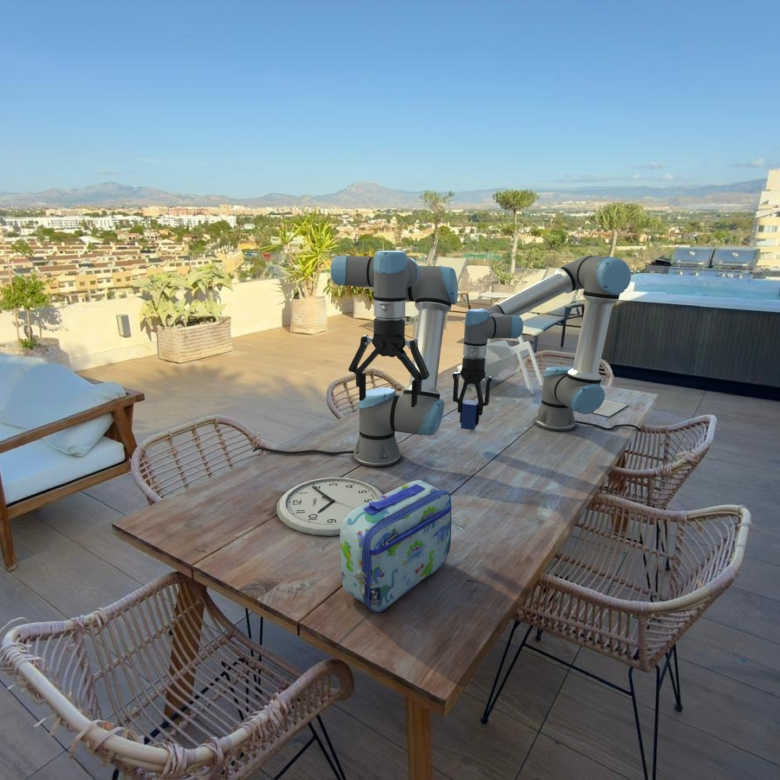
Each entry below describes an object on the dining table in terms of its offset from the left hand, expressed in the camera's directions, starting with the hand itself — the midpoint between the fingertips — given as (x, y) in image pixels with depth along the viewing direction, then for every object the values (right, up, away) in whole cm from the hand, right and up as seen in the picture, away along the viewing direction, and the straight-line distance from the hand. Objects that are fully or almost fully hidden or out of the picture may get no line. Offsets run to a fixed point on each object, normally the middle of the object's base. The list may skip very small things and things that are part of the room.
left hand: (387, 402), depth 131 cm
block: (+28, -10, +50) cm, 58 cm away
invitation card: (+92, -4, +96) cm, 133 cm away
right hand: (+28, -8, +49) cm, 57 cm away
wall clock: (-15, -28, +12) cm, 34 cm away
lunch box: (+2, -38, -19) cm, 43 cm away
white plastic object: (+52, +4, +120) cm, 131 cm away
